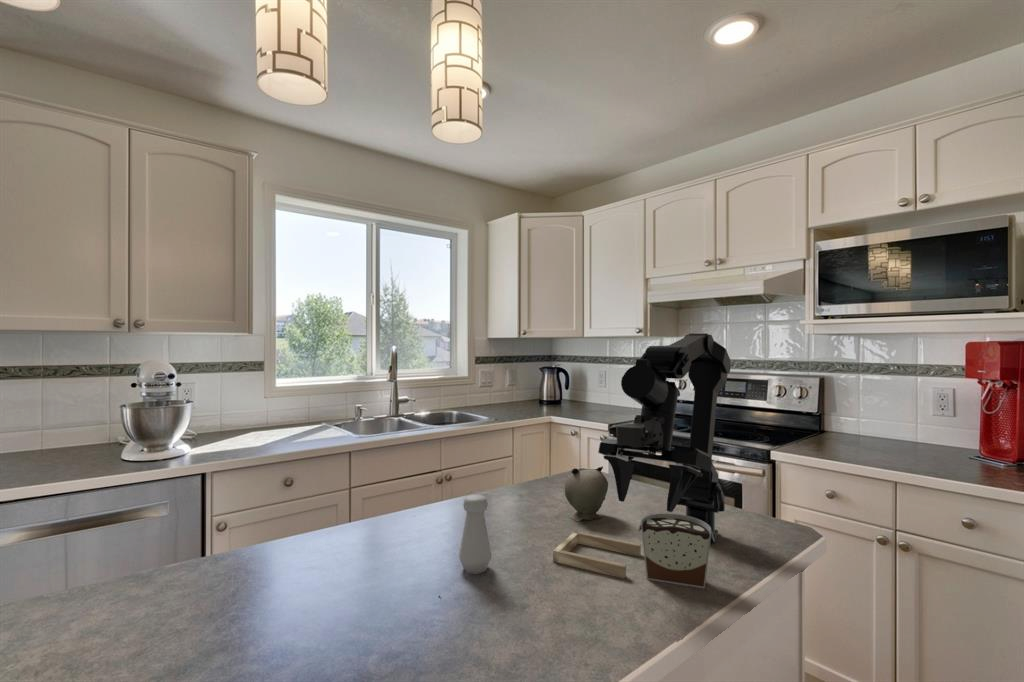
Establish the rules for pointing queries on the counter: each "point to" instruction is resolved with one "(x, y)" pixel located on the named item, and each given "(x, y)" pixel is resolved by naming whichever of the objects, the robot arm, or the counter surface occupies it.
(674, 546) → the food container
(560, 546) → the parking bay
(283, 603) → the counter surface
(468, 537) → the salt shaker
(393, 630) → the counter surface
